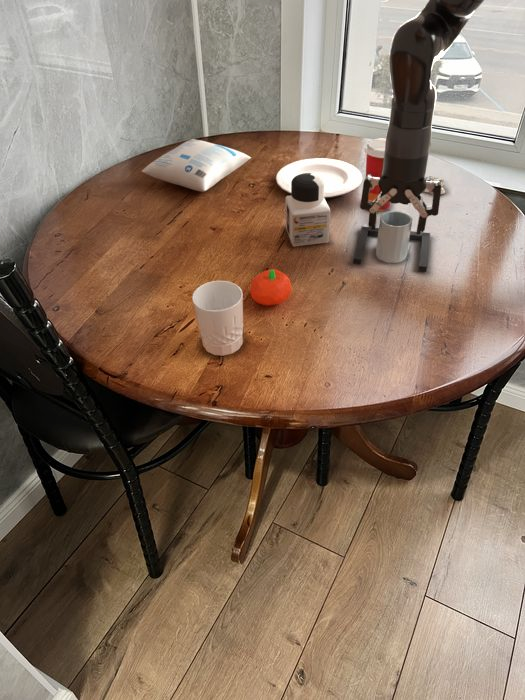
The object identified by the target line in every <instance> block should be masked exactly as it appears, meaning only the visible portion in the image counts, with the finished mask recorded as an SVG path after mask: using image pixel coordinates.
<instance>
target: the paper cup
mask: <svg viewBox="0 0 525 700" xmlns="http://www.w3.org/2000/svg"><path fill="white" fill-rule="evenodd" d="M385 141H386V137H379V138H374V139H371V140H370V141H368V143H367V144H366V147H365V148H364V153H365V154H366V155H365V156H366V157H365V158H366V159H365V176H366V175H367V174H370V175H371V176H372V177H374V178H380V177H381V176H382V171H383V162H384V152H385ZM381 192H382V191H381V189H380V188H379V186H378V185H376V186H375V187H374V189H373V190H370V192H369V199H368V200H369V201H371V202H373V201H374V200H375V199H376V198H377V197H378V195H379V194H380V193H381ZM391 204H392V203H391V202H389V201H387V202H386V203H385V204H384V205H383V206H382V207H380V208H379V209H378V211H377V212H382V211H385V210H388V209H389V208H390V206H391Z"/></svg>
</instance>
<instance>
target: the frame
mask: <svg viewBox="0 0 525 700" xmlns="http://www.w3.org/2000/svg"><path fill="white" fill-rule="evenodd" d="M378 231H379V227H376V228H375V230H371V227H369V226H363V225H362V226H361V228H360V232H359V236H358V239H357V244H356V248H355V251H354V256H353V259H352V260H353V261H352V264H353V265H362V262H363V261H362V260H363V256H364V251H365V247H366V244H367V239H368V236H370V237H377V238H378ZM416 233H417V231H415V230H411V232H410V238H409V241H416V242H417V241H418V242H420V249H419V250H420V251H419V261H418V269H417V271H418V272H422V273H427V270H428V264H429V263H428V262H429V250H430V238H431V237H430V236H431V232H425V231H424V232H420V235H418V234H416Z"/></svg>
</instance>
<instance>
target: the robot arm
mask: <svg viewBox="0 0 525 700" xmlns="http://www.w3.org/2000/svg"><path fill="white" fill-rule="evenodd" d="M484 1H485V0H428V2H427V3H426V4H425V6H424V7H423V8H422V10H421V11H420V12H419V13H418V14H417V15H416V16H415V17H413V18H411V19H409V20H407V21H405V22H404V23H402V24H401V25H400V26H399V27H398V29H397V30H396V31H395V32H394V35H393V37H392V39H391V44H390V49H389V75H390V77H389V78H390V86H391V92H392V96H391V103H390V111H389V112H390V113H389V120H388V125H387V130H386V135H385V138H386V141H385V152H384V162H383V171H382V176H381V177H380V178H374V177H372V176H371V175H370V174H367V175H366V174H365V176H364V180H363V184H362V190H361V196H360V197H361V198H360V204H359V208H360V209H361V210H366V211H368V224H367V226H368V227H371V230H375V228H377V220H378V212H379V211H378V209H379V208H380V207H382V206H383V205H384V204H385V203H386V202H387V201H389V202H391V203H390V204H393V205H394V204H402V205H405V206H408V205H409V204H411V205H412V206H413V208H414V209H415V210H416V211H417V213H418V220H417V225H416V226H417V227H416V232H417V233H416V234H418V235H420V232H424V233H425V230H426V224H427V219H428V218H429V216H430V217H431V216H434V217H436V216H438V214H439V211H440V203H441V195H442V194H441V184H442V181H441V180H440V179H441V178H439V179H437V180H436V181H435V182H426V180H425V177H426V172H427V167H428V160H429V153H430V149H431V148H430V147H431V145H432V133H433V120H434V114H435V113H434V112H435V107H436V101H437V90H436V89H437V88H436V87H435V86H434V85H433V84H432V70H433V66H434V63H435V62H436V61H439V59H440V58H442V57H443V56H444V55H445V54H446V52H447V51H448V50H449V49H450V48H451V46H452V45H453V44H454V42H455V41H456V40H457V38H458V37H459V35H461V33H462V31H463V30H464V28H465V26H466V25H467V23H468V22H469V20H470V18H471V16H472V15H473V14H474V12H476V10H477V9H479V7H480V6H481V5H482V4H483V3H484ZM376 185H378V186H379V188H380V189H381V191H382V192H381V193H380V194H379V195H378V197H377V198H376V199H375V200H374V201H373V202H371V201H369V200H368V199H369V192H370V190H373V189H374V187H375V186H376ZM425 189H428V190H429V192H428V193H429V195H432V202H431V205H427V204H426V202H425V200H424V197H423V196H422V193H424V190H425ZM440 194H441V195H440Z"/></svg>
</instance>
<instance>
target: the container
mask: <svg viewBox="0 0 525 700" xmlns="http://www.w3.org/2000/svg"><path fill="white" fill-rule="evenodd" d="M324 184H325V181H324V179H323V178H322V177H321V176H320V175H317V174H313V173H303V174H299V175H297V176H295V177H294V178H293V179H292V181H291V194H290V195H287V196H285V230H286V232H287V234H288V235H287V236H288V238H289V240H290V243H291V245H292V247H294V248H295V247H303V246H309V245H310V246H311V245H319V244H327V243H329V242H330V223H331V208H330V206H329V204H328V203H327V201H326V198H324Z"/></svg>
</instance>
